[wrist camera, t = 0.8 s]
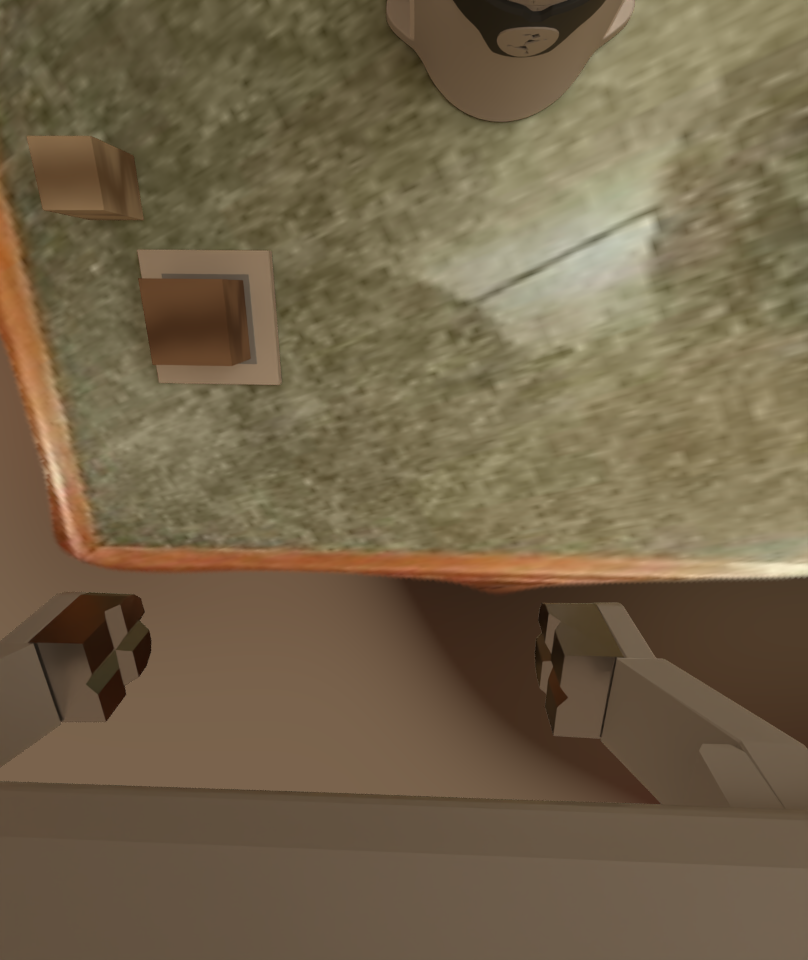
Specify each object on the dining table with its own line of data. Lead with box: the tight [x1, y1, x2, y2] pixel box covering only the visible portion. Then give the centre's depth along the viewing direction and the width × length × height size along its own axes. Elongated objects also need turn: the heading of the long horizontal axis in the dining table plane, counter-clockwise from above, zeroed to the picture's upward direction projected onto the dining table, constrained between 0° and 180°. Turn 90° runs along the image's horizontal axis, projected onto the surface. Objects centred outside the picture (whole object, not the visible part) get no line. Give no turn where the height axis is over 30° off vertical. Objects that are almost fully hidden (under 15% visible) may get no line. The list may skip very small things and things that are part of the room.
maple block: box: [27, 136, 144, 220], centre depth 42 cm, size 5×5×6 cm
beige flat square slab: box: [137, 250, 282, 385], centre depth 47 cm, size 12×12×1 cm
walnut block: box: [138, 278, 251, 366], centre depth 44 cm, size 7×7×5 cm
